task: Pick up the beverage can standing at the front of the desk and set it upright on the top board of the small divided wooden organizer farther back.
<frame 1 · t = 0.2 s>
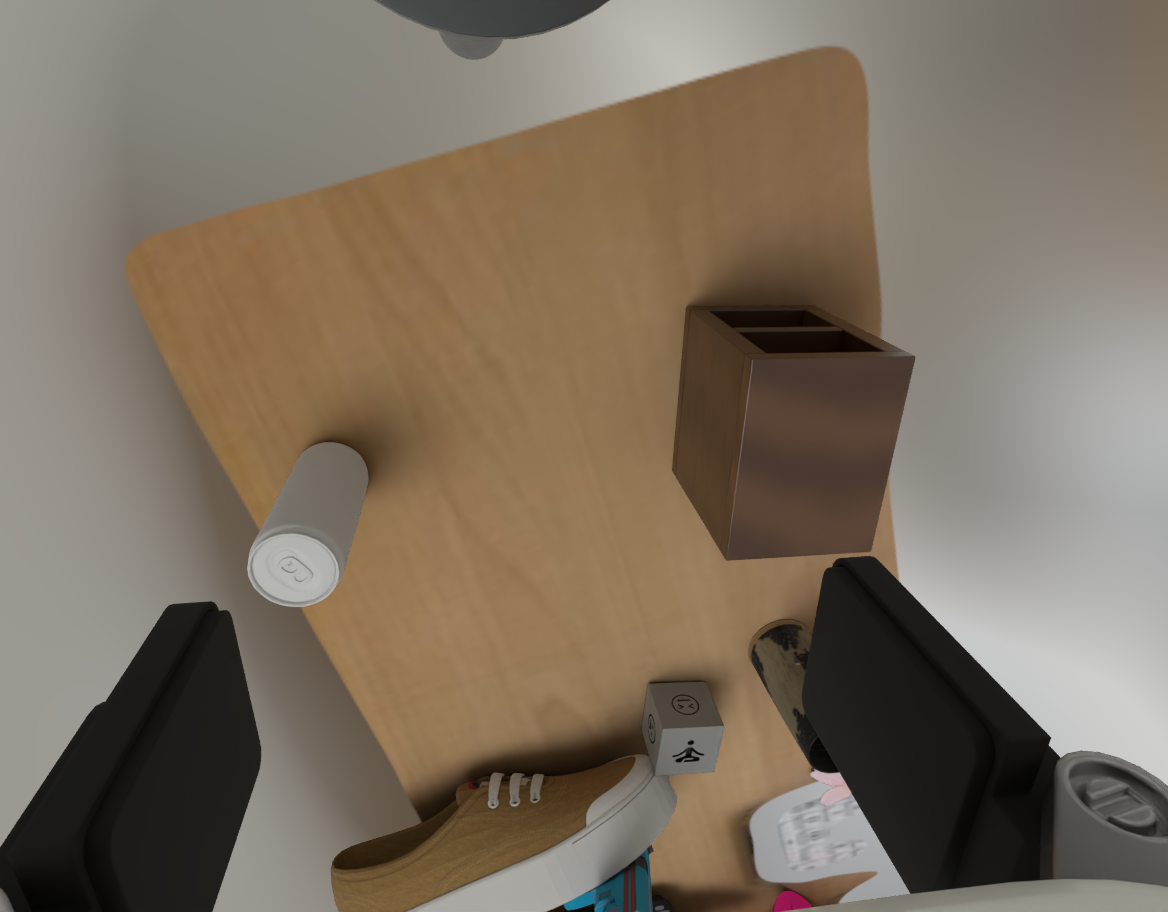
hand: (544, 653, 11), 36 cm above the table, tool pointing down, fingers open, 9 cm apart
sneaker: (528, 895, 58), point 7 cm above the table, touching dice cube, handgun
mug: (776, 635, 60), on the table
divided wooden organizer: (740, 391, 49), on the table
flower: (856, 788, 66), point 2 cm above the table
decorative sign: (608, 904, 70), point 1 cm above the table, touching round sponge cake
dice cube: (672, 703, 61), on the table, touching sneaker
beverage can: (334, 470, 48), on the table
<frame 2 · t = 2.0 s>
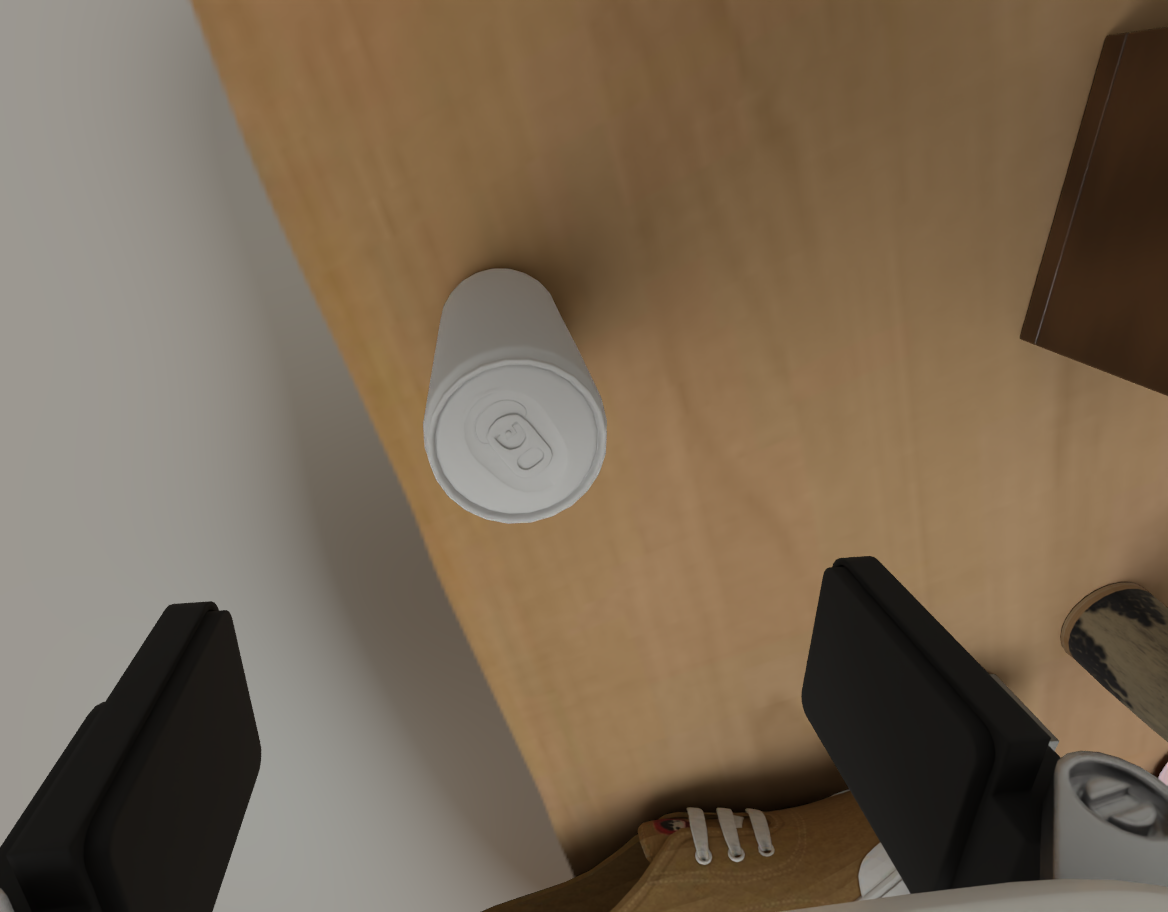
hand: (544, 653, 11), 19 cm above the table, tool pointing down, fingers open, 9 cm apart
mug: (1103, 606, 41), on the table
divided wooden organizer: (1152, 201, 30), on the table
dice cube: (941, 706, 42), on the table, touching sneaker
beverage can: (501, 324, 29), on the table
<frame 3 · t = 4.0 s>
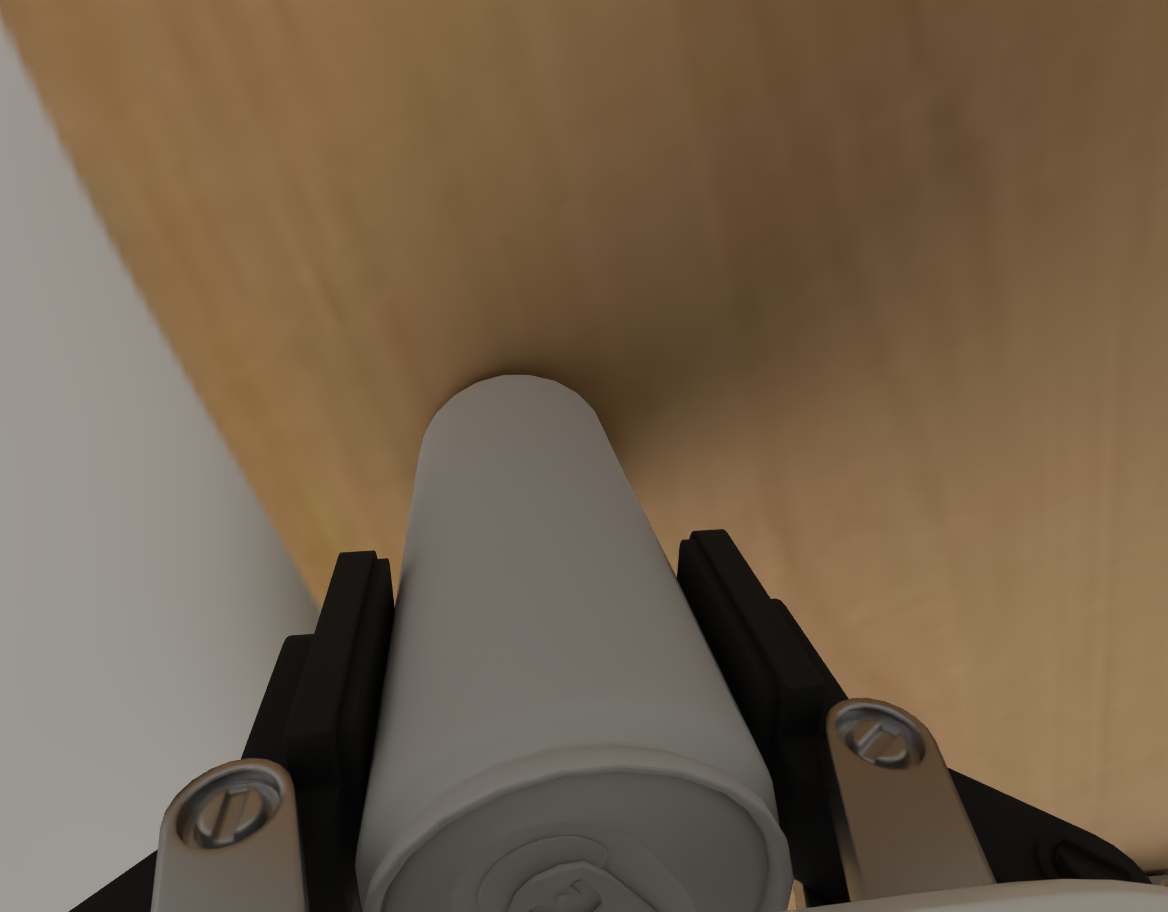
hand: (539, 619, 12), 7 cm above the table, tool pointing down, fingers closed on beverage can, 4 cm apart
beverage can: (515, 453, 18), on the table, touching gripper
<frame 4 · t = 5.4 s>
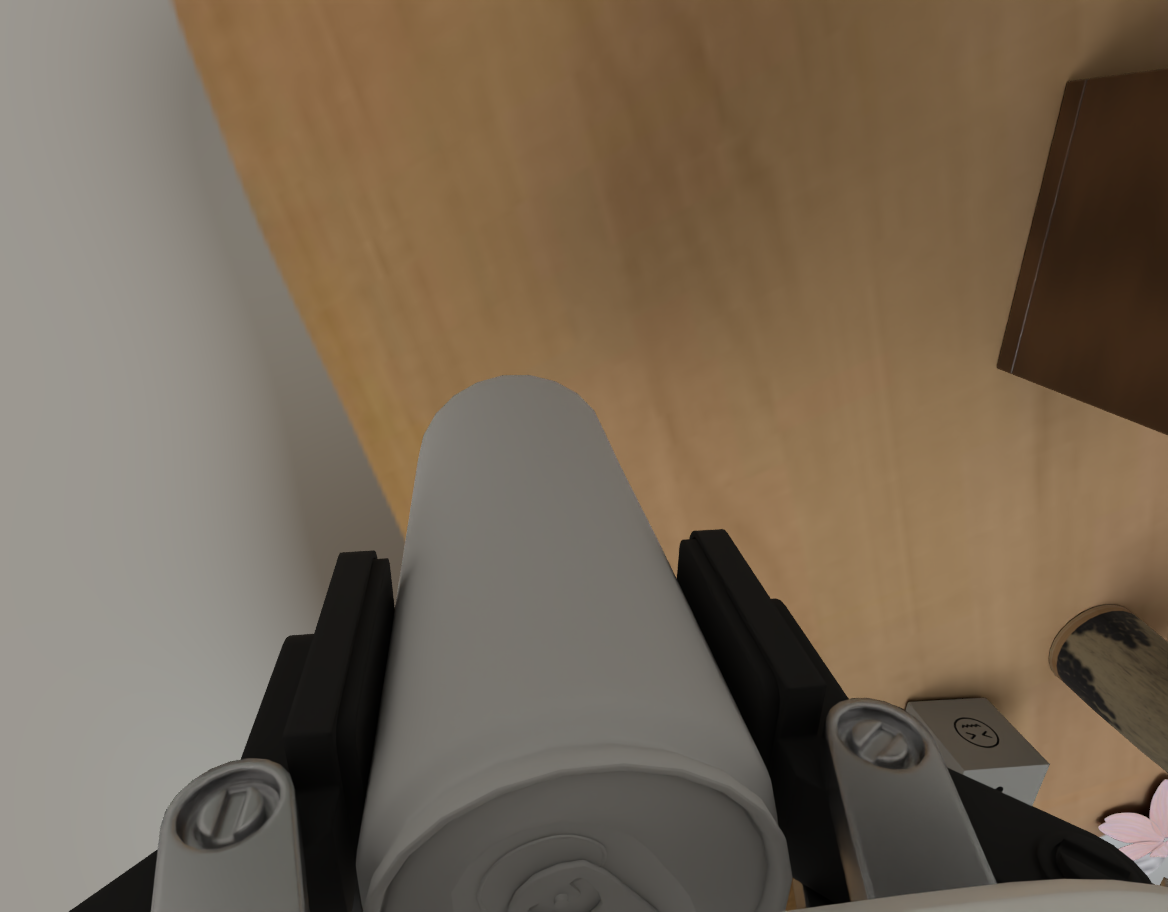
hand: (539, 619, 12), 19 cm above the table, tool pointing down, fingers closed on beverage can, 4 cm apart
mug: (1089, 628, 41), on the table
divided wooden organizer: (1118, 235, 32), on the table
flower: (1165, 847, 47), point 2 cm above the table
dice cube: (933, 730, 42), on the table, touching sneaker
beverage can: (515, 454, 18), point 12 cm above the table, touching gripper
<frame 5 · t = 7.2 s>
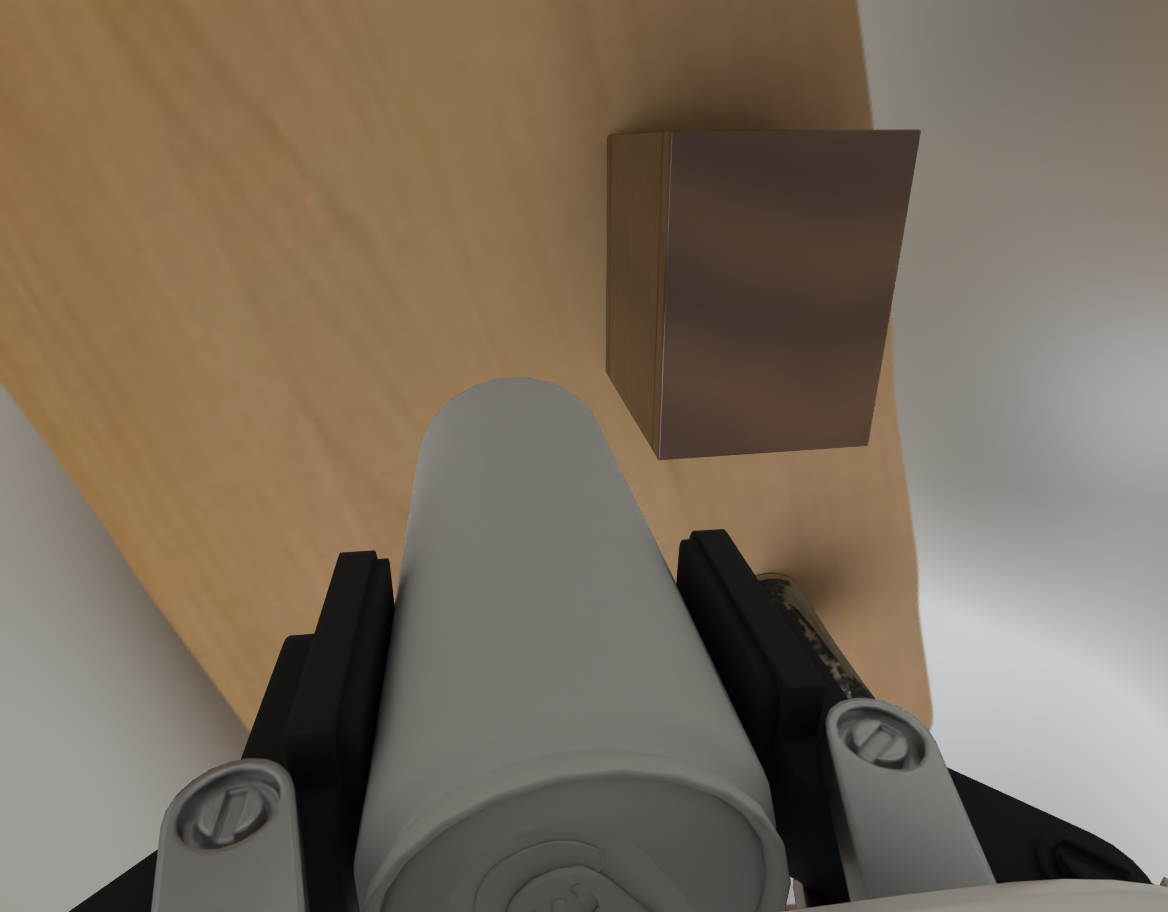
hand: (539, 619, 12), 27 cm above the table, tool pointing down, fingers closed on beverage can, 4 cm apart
mug: (758, 594, 47), on the table
divided wooden organizer: (690, 259, 37), on the table
beverage can: (514, 456, 18), point 20 cm above the table, touching gripper
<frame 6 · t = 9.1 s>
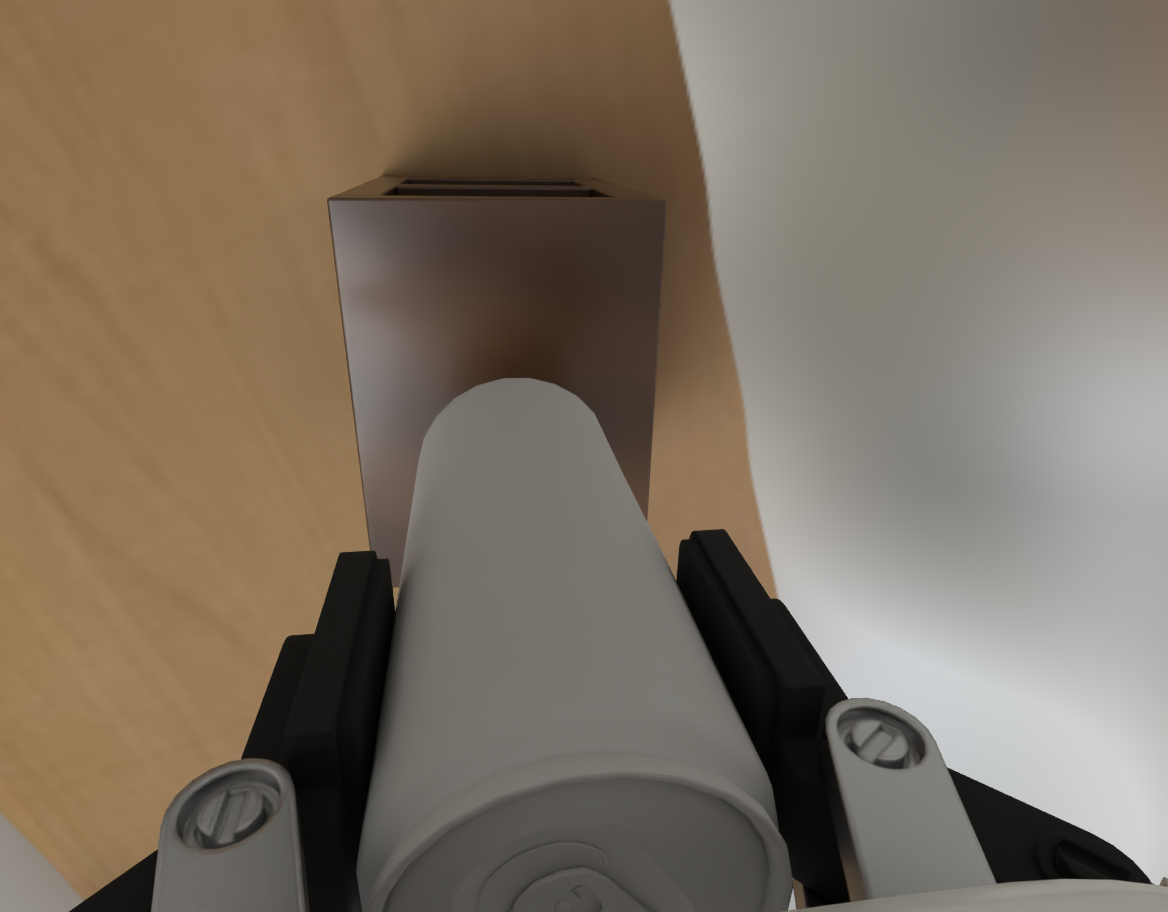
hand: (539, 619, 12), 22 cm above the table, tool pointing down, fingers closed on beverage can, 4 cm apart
divided wooden organizer: (495, 319, 32), on the table
beverage can: (515, 456, 18), point 15 cm above the table, touching gripper
when the fingers open (19 cm above the table, at t = 10.4 s): beverage can stays where it is, resting on divided wooden organizer.
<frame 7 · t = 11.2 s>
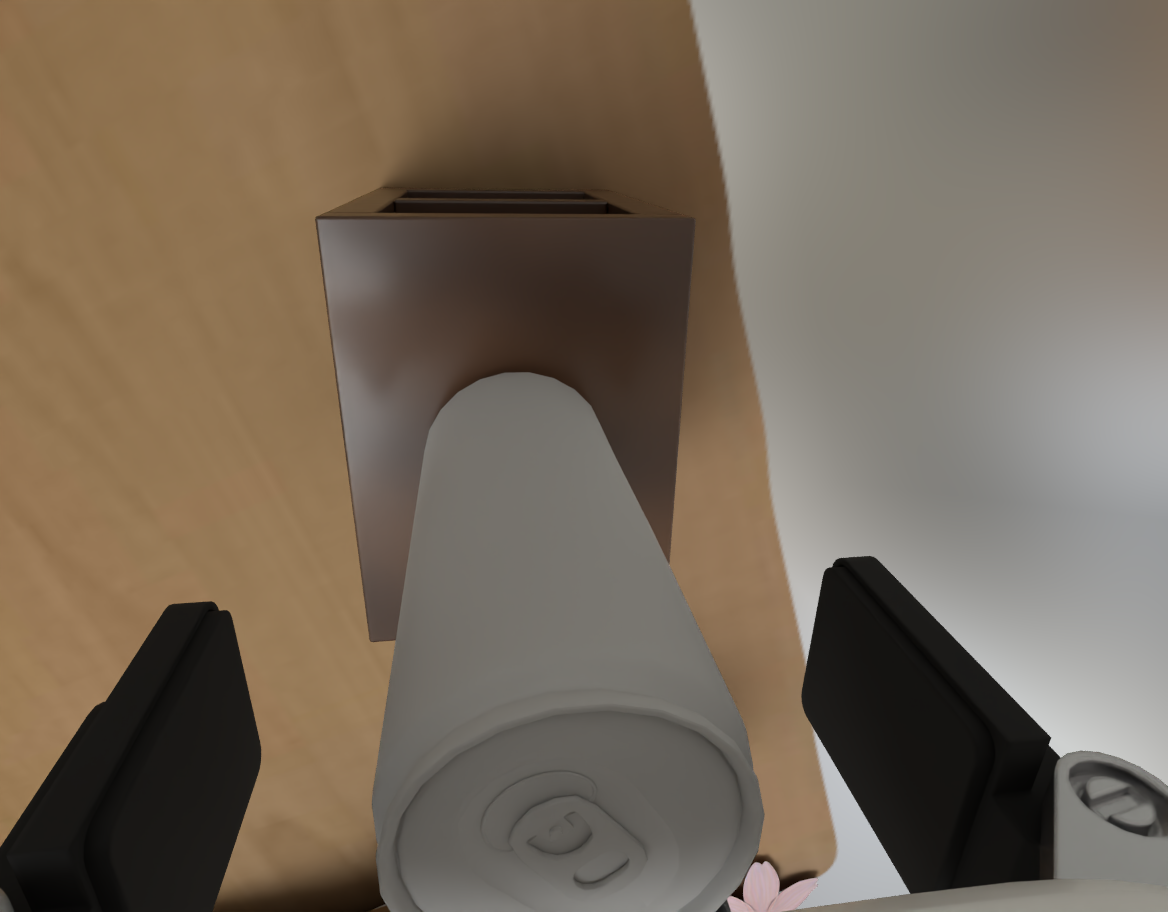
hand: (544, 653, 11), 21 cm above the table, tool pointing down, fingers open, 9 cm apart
divided wooden organizer: (501, 339, 30), on the table
beverage can: (516, 448, 19), point 12 cm above the table, touching divided wooden organizer
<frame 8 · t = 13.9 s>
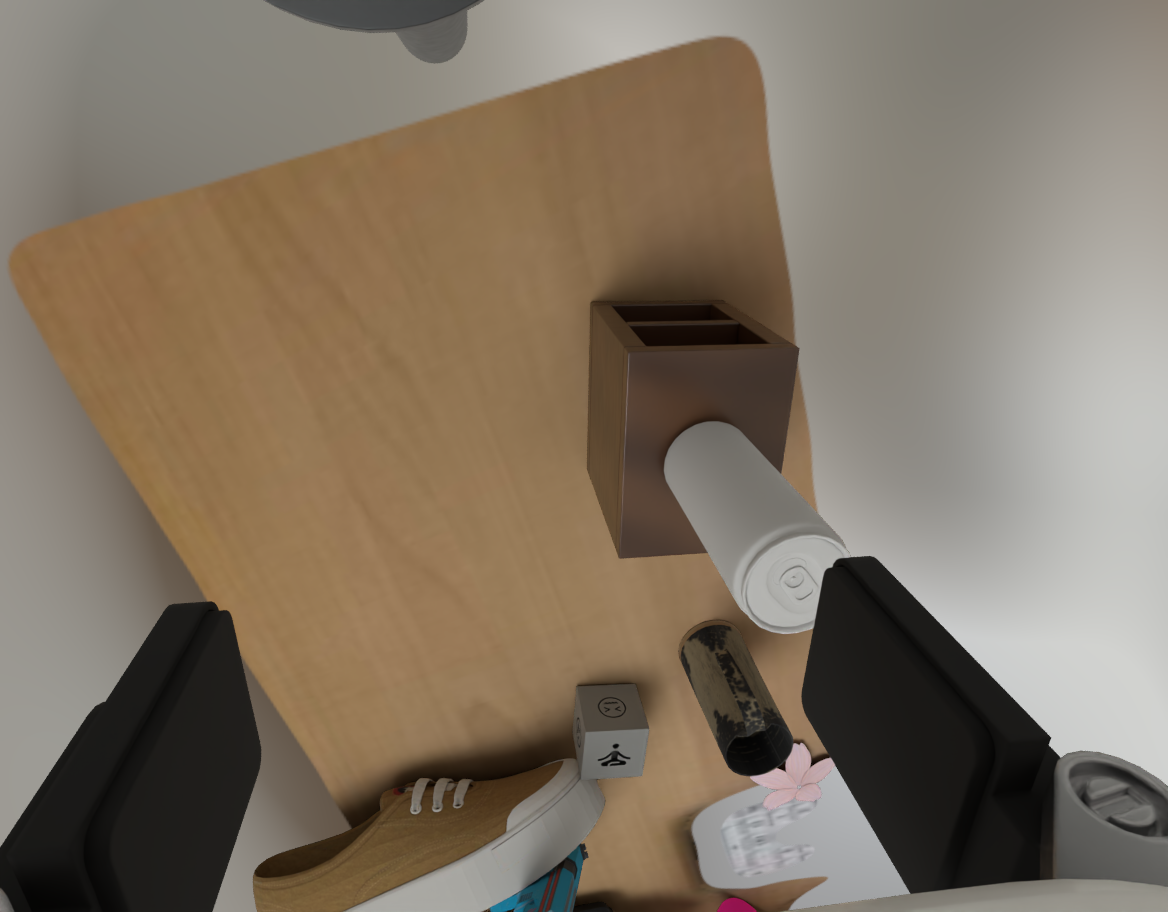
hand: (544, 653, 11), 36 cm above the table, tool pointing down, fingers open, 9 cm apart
sneaker: (453, 903, 57), point 7 cm above the table, touching dice cube, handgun
mug: (707, 636, 59), on the table
divided wooden organizer: (652, 387, 49), on the table
flower: (797, 792, 65), point 2 cm above the table
decorative sign: (550, 911, 69), point 1 cm above the table, touching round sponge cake
dice cube: (603, 706, 60), on the table, touching sneaker
beverage can: (703, 457, 38), point 12 cm above the table, touching divided wooden organizer
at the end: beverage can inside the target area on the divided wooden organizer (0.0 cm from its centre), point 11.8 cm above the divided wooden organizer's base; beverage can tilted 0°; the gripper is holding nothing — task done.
